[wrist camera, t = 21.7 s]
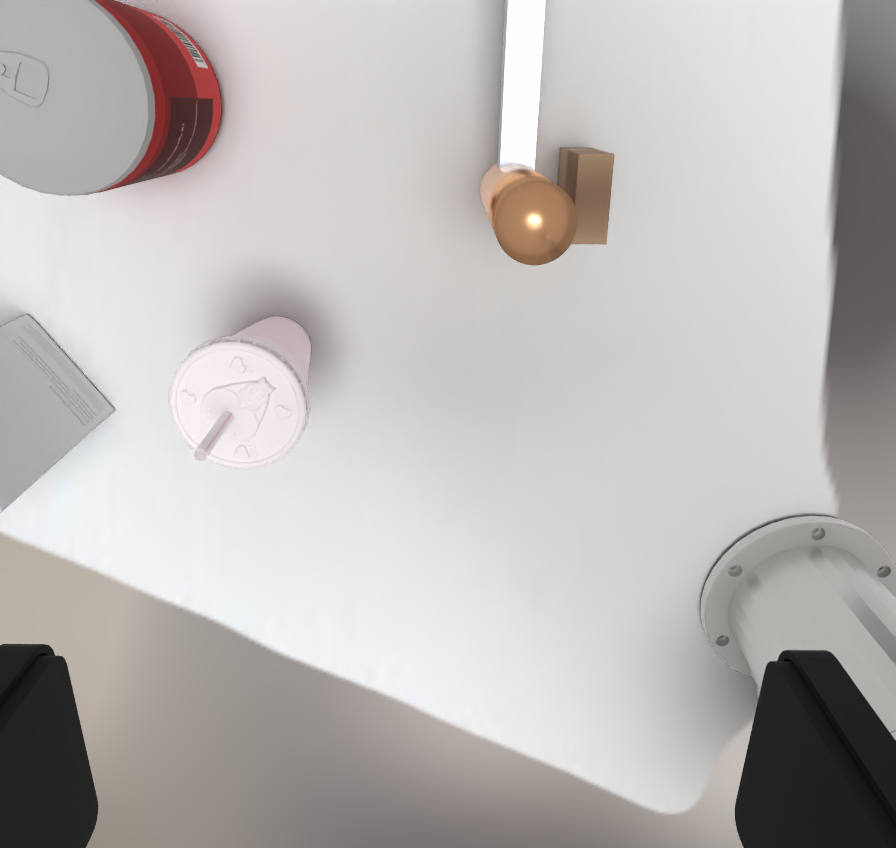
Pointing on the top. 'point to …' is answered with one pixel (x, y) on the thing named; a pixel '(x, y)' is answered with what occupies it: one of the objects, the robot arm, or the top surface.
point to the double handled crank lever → (524, 151)
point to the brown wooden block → (588, 190)
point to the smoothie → (244, 394)
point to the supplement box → (39, 406)
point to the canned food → (99, 96)
